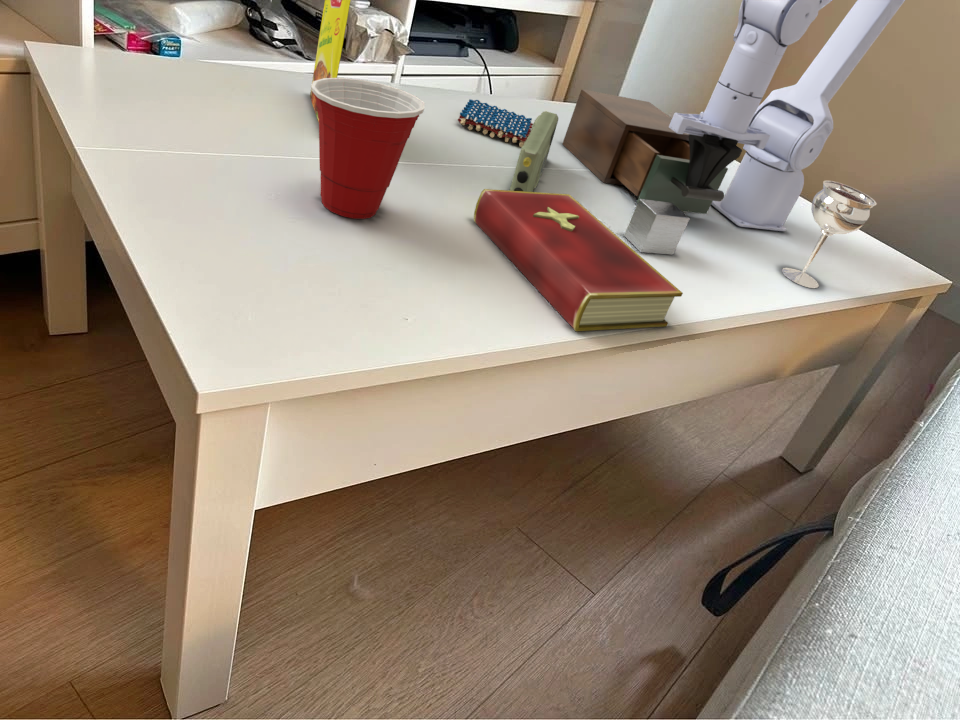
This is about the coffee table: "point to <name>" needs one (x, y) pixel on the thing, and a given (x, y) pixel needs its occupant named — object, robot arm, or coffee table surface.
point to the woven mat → (496, 121)
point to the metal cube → (656, 227)
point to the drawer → (663, 172)
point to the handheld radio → (534, 153)
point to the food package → (330, 42)
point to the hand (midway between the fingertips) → (692, 191)
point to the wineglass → (833, 220)
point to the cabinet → (611, 129)
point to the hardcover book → (575, 260)
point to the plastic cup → (360, 141)
